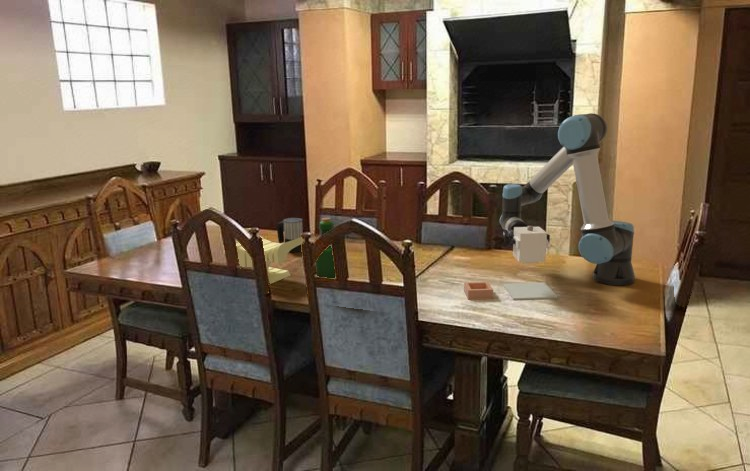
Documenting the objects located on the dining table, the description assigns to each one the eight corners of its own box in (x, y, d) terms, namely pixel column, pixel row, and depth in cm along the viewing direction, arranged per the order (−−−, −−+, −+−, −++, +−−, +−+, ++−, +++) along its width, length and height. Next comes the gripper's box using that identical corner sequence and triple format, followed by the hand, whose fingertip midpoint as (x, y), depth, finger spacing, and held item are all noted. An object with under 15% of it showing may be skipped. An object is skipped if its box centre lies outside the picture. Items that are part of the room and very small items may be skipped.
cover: (537, 256, 225) (539, 222, 222) (545, 264, 216) (547, 229, 213) (512, 257, 225) (514, 223, 222) (519, 264, 216) (520, 229, 213)
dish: (487, 290, 225) (488, 281, 224) (493, 298, 217) (493, 289, 216) (463, 291, 225) (464, 282, 224) (468, 299, 216) (468, 290, 216)
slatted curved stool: (225, 278, 248) (221, 236, 244) (253, 267, 261) (249, 228, 256) (279, 290, 232) (276, 245, 227) (306, 278, 245) (304, 236, 240)
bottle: (348, 286, 233) (345, 216, 226) (335, 295, 224) (331, 222, 217) (324, 283, 238) (320, 214, 231) (310, 292, 228) (306, 220, 221)
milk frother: (307, 247, 291) (305, 217, 287) (295, 256, 276) (293, 225, 272) (279, 246, 294) (277, 217, 290) (266, 255, 279) (264, 224, 276)
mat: (544, 283, 231) (544, 282, 231) (557, 298, 215) (557, 296, 215) (502, 285, 231) (502, 283, 230) (513, 299, 215) (513, 298, 215)
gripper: (544, 237, 237) (563, 253, 216) (488, 238, 237) (501, 255, 215) (545, 219, 235) (564, 233, 214) (489, 220, 235) (502, 234, 213)
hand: (532, 244), depth 214 cm, fingers closed on cover, 9 cm apart
